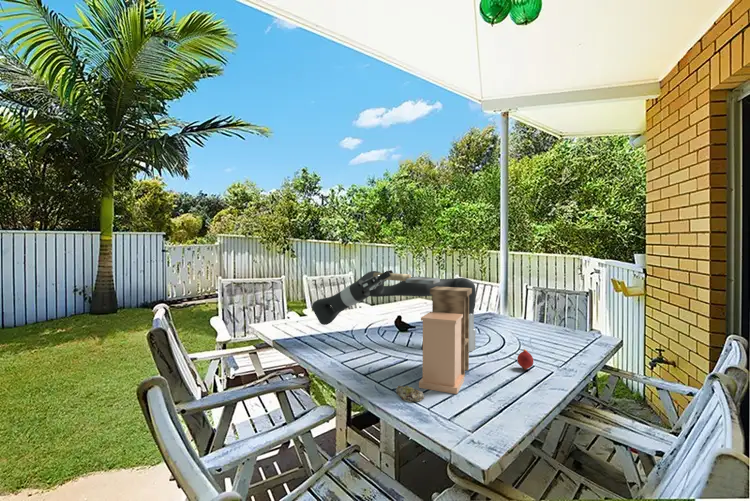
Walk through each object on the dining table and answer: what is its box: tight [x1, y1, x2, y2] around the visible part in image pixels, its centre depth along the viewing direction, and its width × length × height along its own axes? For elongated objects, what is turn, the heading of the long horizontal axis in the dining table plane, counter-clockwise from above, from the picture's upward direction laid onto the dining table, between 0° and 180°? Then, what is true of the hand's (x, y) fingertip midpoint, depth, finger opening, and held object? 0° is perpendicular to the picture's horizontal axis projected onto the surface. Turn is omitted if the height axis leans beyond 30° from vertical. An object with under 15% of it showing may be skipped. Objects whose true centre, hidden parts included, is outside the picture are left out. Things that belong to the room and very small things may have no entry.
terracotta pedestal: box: [418, 311, 465, 395], centre depth 125 cm, size 13×13×24 cm
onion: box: [516, 348, 534, 371], centre depth 140 cm, size 6×6×8 cm
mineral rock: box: [395, 385, 425, 403], centre depth 116 cm, size 11×4×8 cm
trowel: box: [373, 272, 441, 284], centre depth 131 cm, size 24×9×3 cm, turn 66°
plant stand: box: [430, 286, 472, 378], centre depth 138 cm, size 14×10×32 cm
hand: (390, 272), depth 133 cm, fingers closed on trowel, 2 cm apart
